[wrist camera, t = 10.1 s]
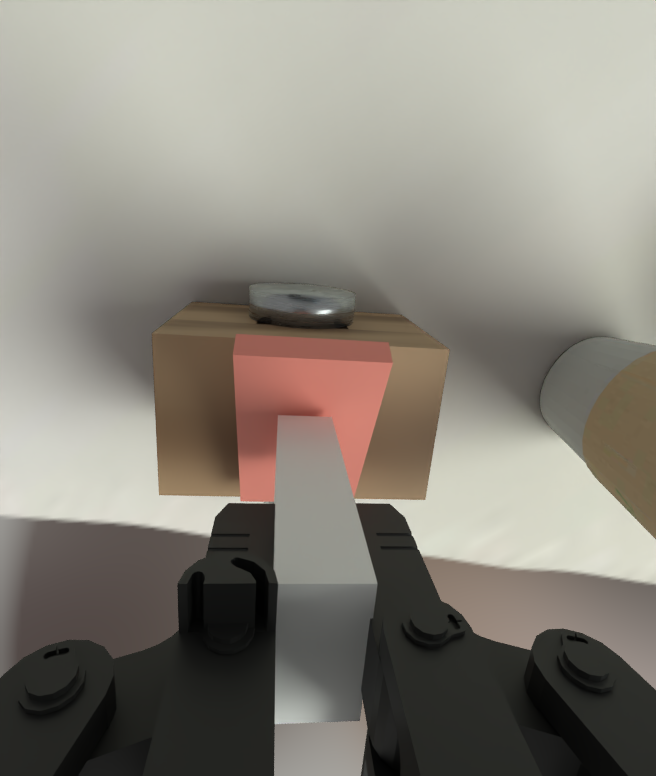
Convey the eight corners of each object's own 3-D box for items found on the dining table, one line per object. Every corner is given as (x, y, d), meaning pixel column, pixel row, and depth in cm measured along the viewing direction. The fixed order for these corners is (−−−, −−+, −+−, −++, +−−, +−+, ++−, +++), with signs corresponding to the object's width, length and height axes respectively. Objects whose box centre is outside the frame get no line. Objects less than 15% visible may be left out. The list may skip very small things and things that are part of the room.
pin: (253, 280, 21) (245, 292, 17) (348, 286, 22) (363, 300, 17) (247, 494, 25) (240, 548, 20) (329, 496, 25) (338, 548, 21)
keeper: (235, 333, 12) (233, 354, 11) (388, 342, 12) (393, 363, 12) (242, 481, 17) (240, 501, 16) (350, 483, 17) (352, 502, 17)
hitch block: (192, 301, 22) (151, 333, 15) (401, 314, 23) (449, 349, 16) (194, 420, 23) (159, 495, 17) (387, 427, 25) (425, 499, 18)
